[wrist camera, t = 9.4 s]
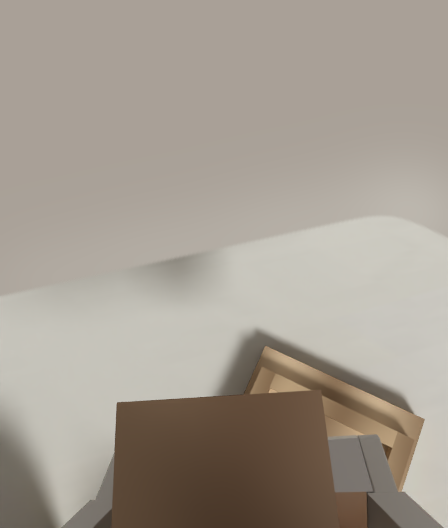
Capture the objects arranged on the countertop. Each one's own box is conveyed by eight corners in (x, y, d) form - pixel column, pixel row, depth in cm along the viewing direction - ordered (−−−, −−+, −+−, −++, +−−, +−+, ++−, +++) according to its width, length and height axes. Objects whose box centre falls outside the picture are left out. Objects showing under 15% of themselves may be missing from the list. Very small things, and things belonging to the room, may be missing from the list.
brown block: (213, 549, 14) (102, 729, 6) (209, 408, 16) (116, 402, 8) (326, 548, 14) (369, 746, 6) (308, 403, 16) (321, 389, 7)
